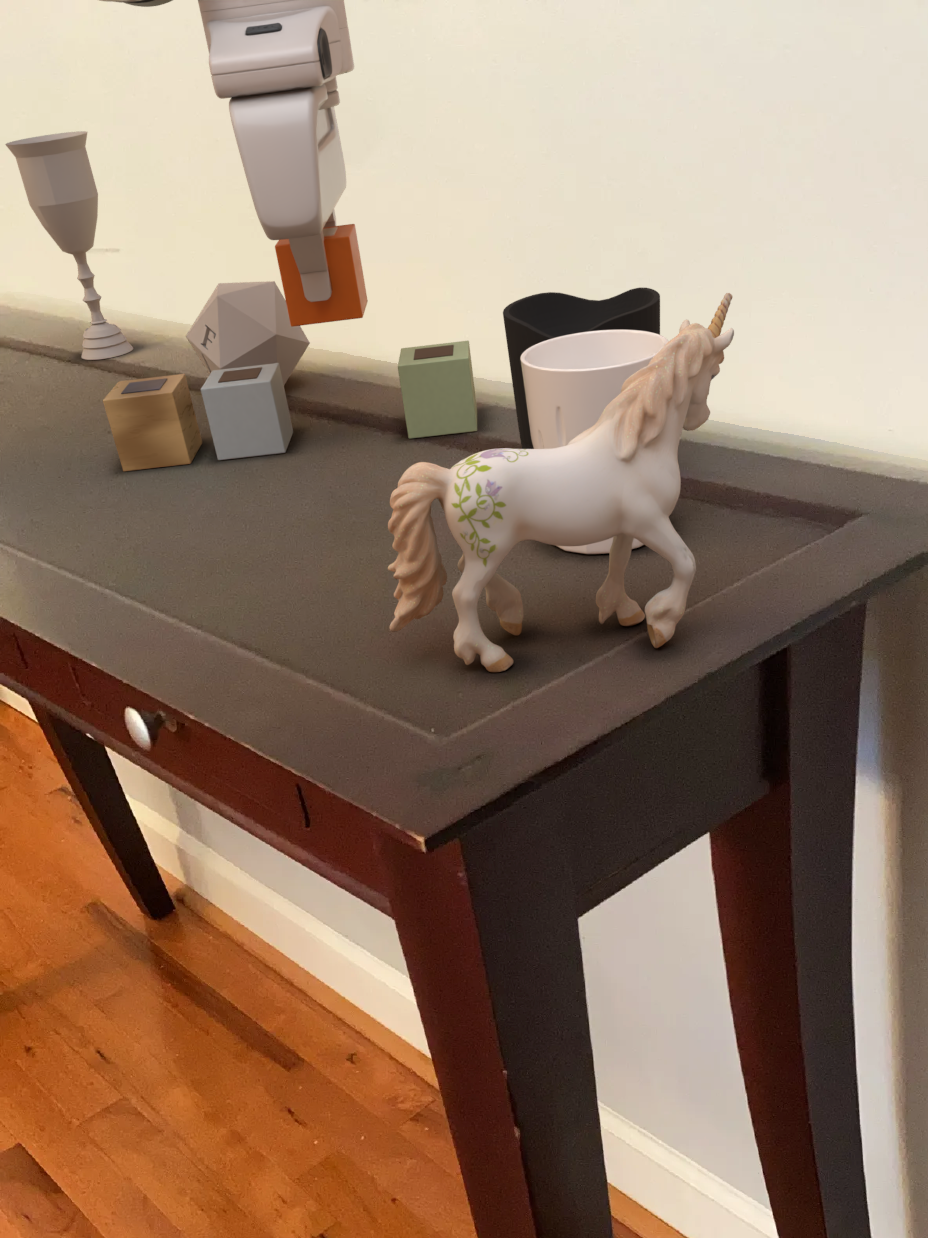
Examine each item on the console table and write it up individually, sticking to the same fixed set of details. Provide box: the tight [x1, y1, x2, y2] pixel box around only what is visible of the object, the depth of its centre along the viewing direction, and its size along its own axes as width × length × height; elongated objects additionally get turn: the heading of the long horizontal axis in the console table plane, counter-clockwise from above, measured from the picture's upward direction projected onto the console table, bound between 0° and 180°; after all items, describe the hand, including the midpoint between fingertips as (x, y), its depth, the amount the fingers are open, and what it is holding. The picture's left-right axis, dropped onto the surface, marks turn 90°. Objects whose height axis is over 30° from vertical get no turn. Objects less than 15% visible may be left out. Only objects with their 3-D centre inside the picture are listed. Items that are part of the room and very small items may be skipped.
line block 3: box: [397, 340, 478, 440], centre depth 92 cm, size 5×5×5 cm
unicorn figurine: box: [387, 292, 735, 673], centre depth 59 cm, size 7×20×13 cm, turn 114°
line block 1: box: [102, 373, 203, 472], centre depth 93 cm, size 5×5×5 cm
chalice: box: [4, 130, 134, 361], centre depth 119 cm, size 7×7×18 cm
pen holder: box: [502, 287, 661, 449], centre depth 79 cm, size 9×9×10 cm
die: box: [185, 280, 311, 386], centre depth 104 cm, size 8×9×10 cm
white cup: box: [520, 330, 670, 555], centre depth 70 cm, size 8×8×10 cm
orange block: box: [274, 223, 368, 327], centre depth 87 cm, size 5×5×5 cm
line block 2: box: [200, 363, 294, 461], centre depth 92 cm, size 5×5×5 cm
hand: (324, 289), depth 88 cm, fingers closed on orange block, 5 cm apart
